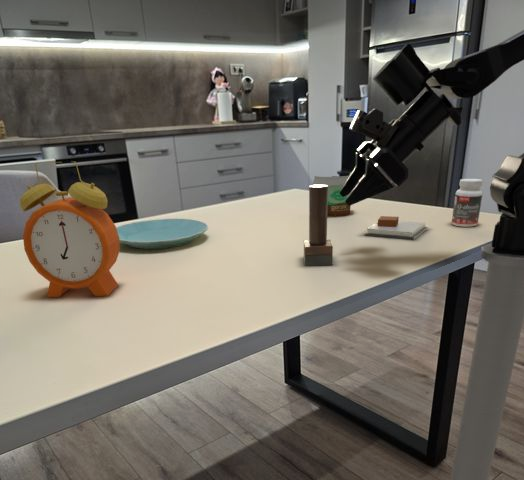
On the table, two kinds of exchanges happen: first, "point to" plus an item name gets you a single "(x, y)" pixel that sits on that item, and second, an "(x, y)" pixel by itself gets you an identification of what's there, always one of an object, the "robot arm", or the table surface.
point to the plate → (160, 233)
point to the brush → (318, 229)
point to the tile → (398, 230)
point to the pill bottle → (467, 203)
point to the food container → (334, 195)
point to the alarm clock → (71, 238)
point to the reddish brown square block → (388, 221)
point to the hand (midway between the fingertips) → (343, 199)
